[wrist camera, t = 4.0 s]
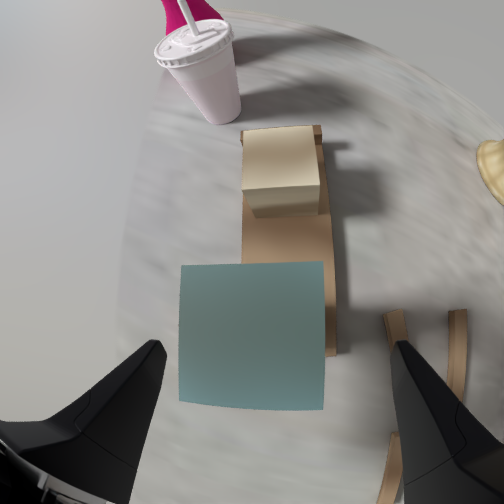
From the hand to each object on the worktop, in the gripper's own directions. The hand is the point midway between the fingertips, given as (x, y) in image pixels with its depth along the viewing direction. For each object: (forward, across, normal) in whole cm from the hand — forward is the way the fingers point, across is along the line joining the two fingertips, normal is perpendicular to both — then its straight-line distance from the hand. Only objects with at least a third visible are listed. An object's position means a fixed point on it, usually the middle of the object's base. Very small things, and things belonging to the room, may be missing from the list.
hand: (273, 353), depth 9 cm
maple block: (+14, 0, -2) cm, 14 cm away
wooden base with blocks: (+12, 0, +2) cm, 12 cm away
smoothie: (+22, +6, -8) cm, 24 cm away
